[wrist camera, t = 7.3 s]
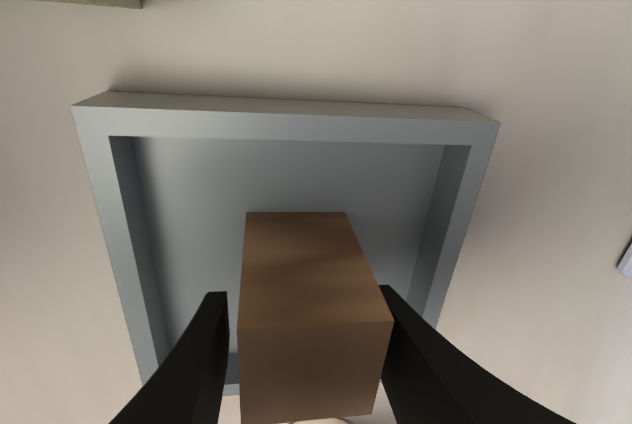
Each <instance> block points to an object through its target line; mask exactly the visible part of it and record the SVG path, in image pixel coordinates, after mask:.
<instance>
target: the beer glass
mask: <svg viewBox="0 0 632 424" xmlns="http://www.w3.org/2000/svg"><path fill="white" fill-rule="evenodd" d="M292 424H349V423H348V422H346V421H344V420H341V419H338V418H328V419H318V420H308V421H298V422H294V423H292Z"/></svg>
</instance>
